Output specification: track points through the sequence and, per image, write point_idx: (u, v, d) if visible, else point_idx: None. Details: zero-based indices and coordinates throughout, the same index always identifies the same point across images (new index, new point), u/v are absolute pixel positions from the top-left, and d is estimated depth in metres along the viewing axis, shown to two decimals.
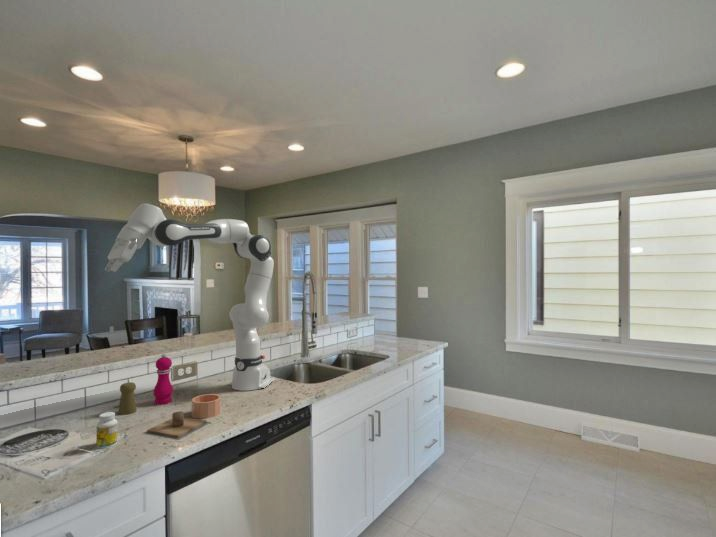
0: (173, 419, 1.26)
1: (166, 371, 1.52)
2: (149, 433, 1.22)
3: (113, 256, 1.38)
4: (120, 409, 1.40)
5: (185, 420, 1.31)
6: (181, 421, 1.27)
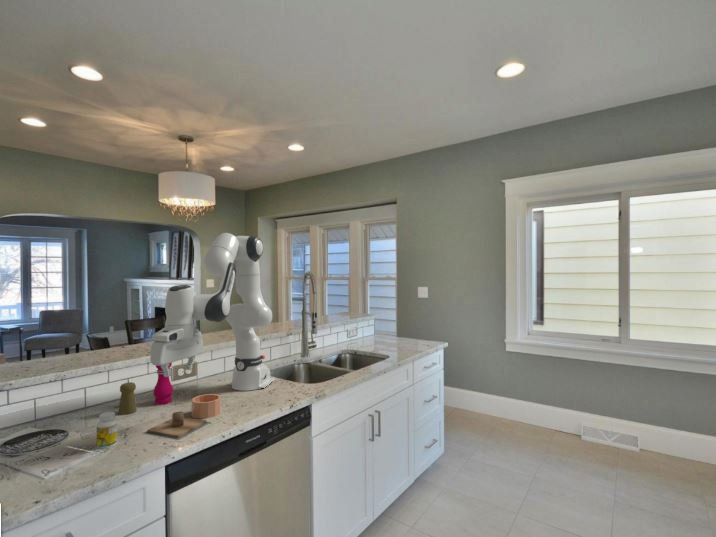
0: (173, 419, 1.26)
1: None
2: (149, 433, 1.22)
3: (184, 357, 1.28)
4: (120, 409, 1.40)
5: (185, 420, 1.31)
6: (181, 421, 1.27)
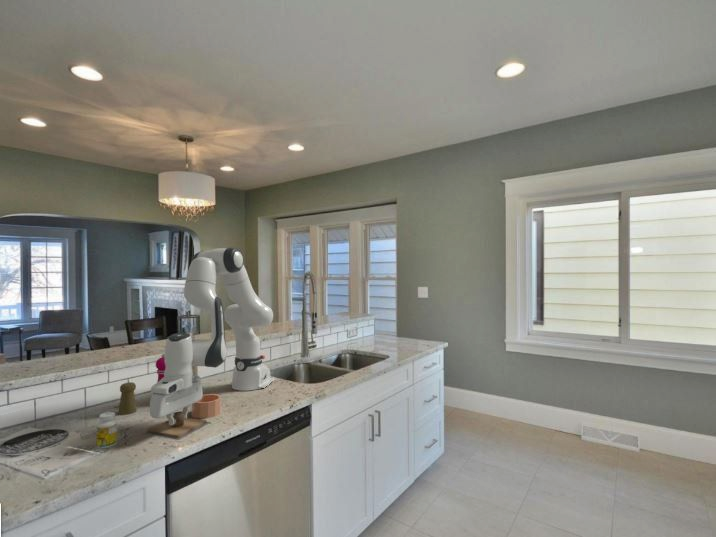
0: None
1: None
2: (149, 433, 1.22)
3: (184, 406, 1.28)
4: (120, 409, 1.40)
5: (185, 420, 1.31)
6: (181, 421, 1.27)
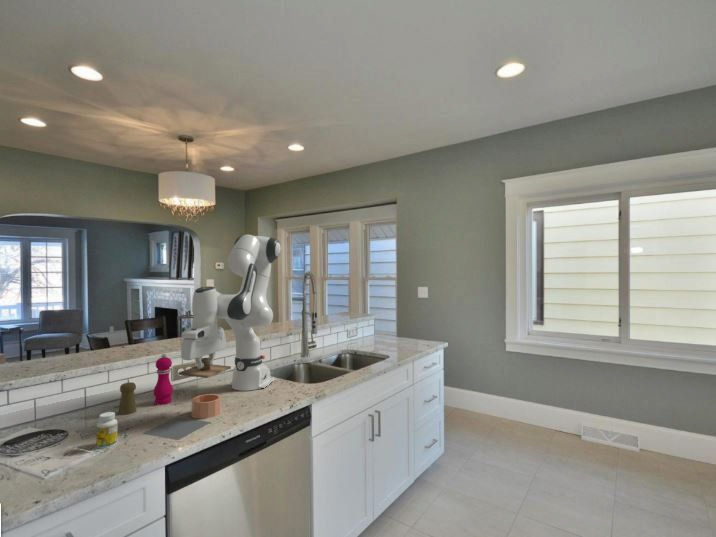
0: None
1: (166, 371, 1.52)
2: (149, 433, 1.22)
3: (210, 352, 1.40)
4: (120, 409, 1.40)
5: (211, 366, 1.44)
6: (208, 365, 1.40)
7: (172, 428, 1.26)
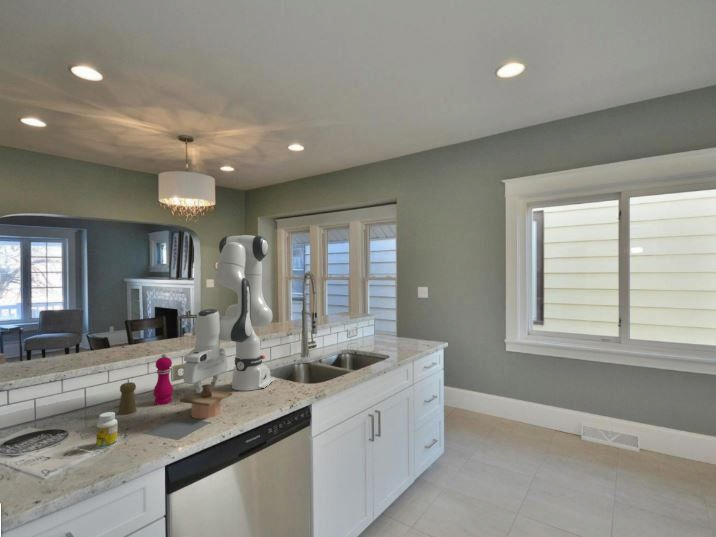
0: (203, 390, 1.39)
1: (166, 371, 1.52)
2: (149, 433, 1.22)
3: (212, 375, 1.41)
4: (120, 409, 1.40)
5: (212, 392, 1.45)
6: (210, 392, 1.40)
7: (172, 428, 1.26)
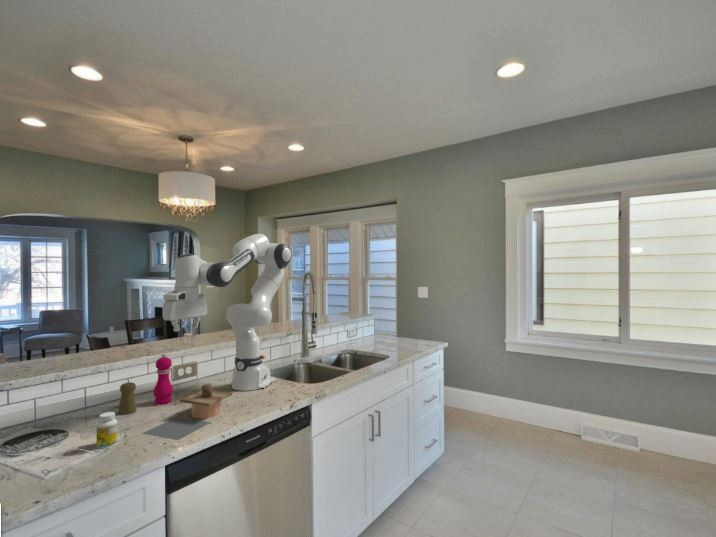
0: (203, 390, 1.39)
1: (166, 371, 1.52)
2: (149, 433, 1.22)
3: (191, 316, 1.47)
4: (120, 409, 1.40)
5: (212, 392, 1.45)
6: (210, 392, 1.40)
7: (172, 428, 1.26)
